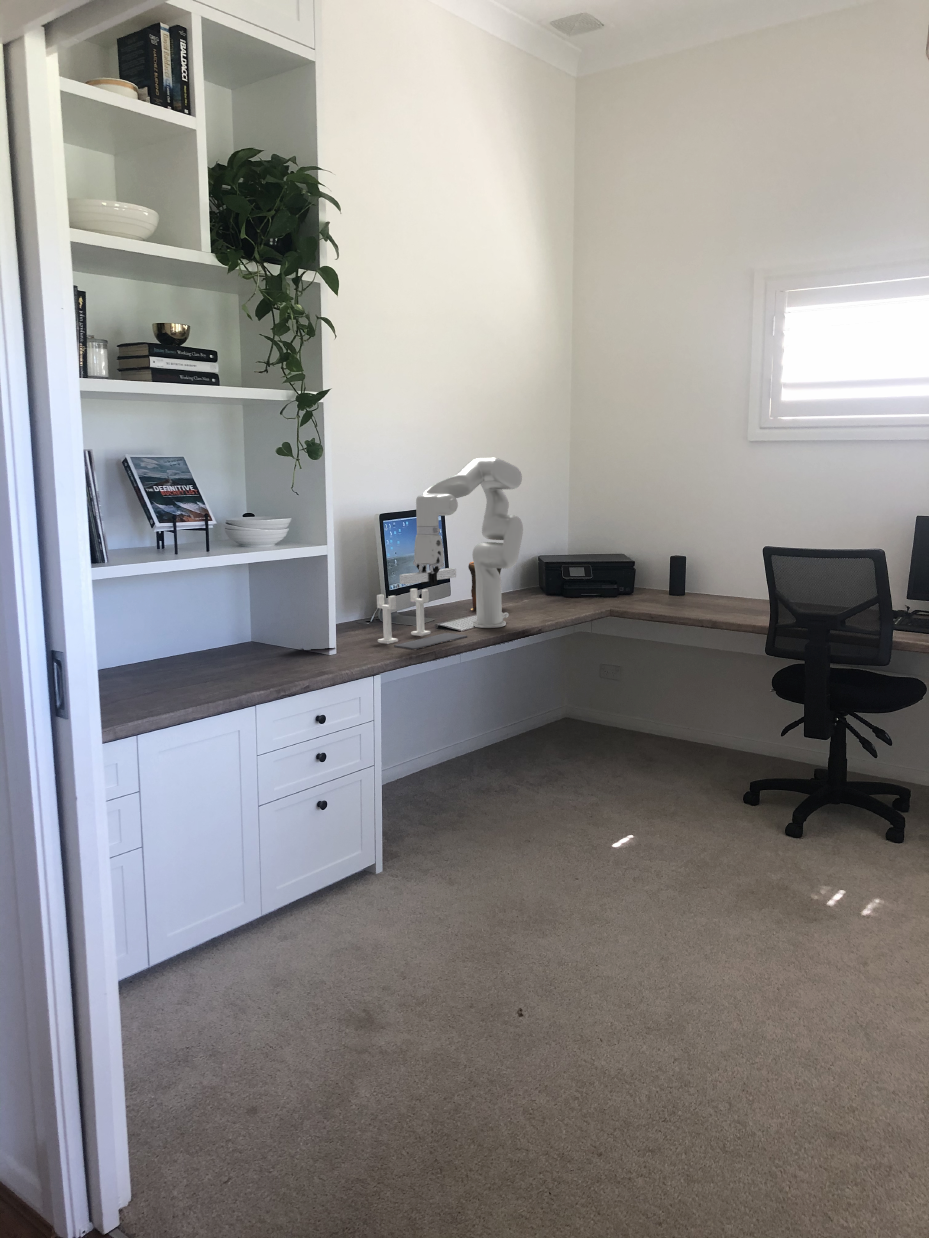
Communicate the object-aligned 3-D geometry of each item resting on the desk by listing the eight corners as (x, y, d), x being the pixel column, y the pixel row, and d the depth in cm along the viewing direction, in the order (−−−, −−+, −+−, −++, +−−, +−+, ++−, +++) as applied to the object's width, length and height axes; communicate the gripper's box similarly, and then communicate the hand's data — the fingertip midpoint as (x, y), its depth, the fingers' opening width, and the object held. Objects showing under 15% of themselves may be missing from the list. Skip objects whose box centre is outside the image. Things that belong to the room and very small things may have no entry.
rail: (448, 576, 339) (448, 568, 338) (456, 577, 337) (456, 568, 336) (399, 583, 320) (399, 574, 320) (407, 584, 318) (407, 575, 317)
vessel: (507, 606, 404) (505, 560, 401) (500, 613, 391) (498, 564, 387) (474, 606, 408) (472, 560, 404) (466, 612, 394) (464, 564, 391)
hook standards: (418, 632, 351) (417, 588, 348) (432, 634, 347) (431, 589, 344) (375, 642, 335) (373, 595, 332) (389, 644, 330) (388, 597, 327)
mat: (446, 634, 346) (446, 632, 346) (467, 637, 339) (467, 635, 339) (394, 646, 325) (394, 645, 325) (415, 650, 319) (415, 648, 319)
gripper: (453, 531, 323) (454, 585, 326) (417, 529, 334) (418, 581, 337) (438, 532, 318) (439, 587, 320) (402, 531, 328) (404, 584, 331)
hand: (428, 583), depth 329 cm, fingers closed on rail, 3 cm apart
